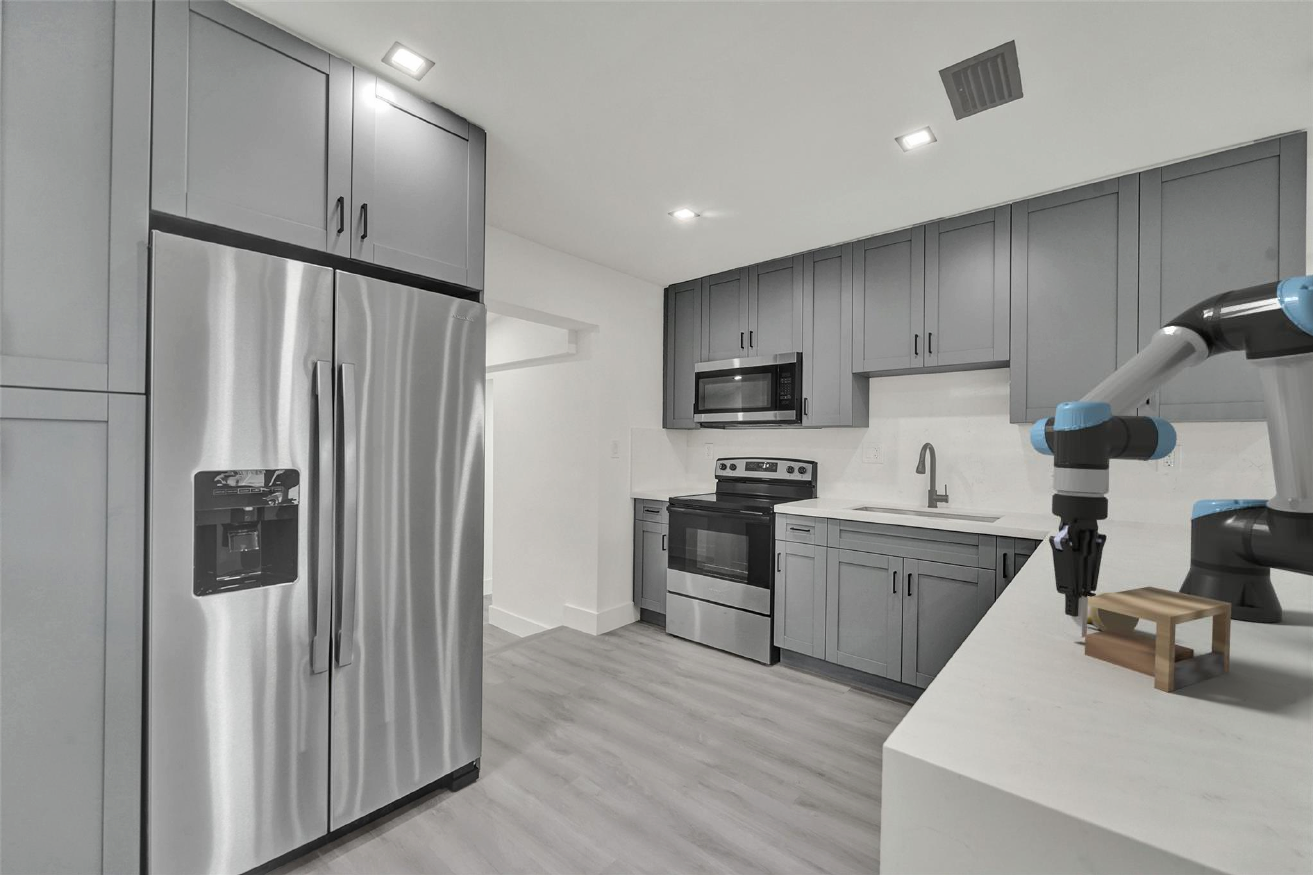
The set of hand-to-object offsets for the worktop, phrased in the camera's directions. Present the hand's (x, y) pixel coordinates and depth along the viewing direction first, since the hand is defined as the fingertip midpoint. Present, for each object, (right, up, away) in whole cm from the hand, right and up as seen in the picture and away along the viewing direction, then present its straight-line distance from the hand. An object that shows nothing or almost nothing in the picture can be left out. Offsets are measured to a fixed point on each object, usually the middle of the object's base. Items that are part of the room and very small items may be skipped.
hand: (1075, 634), depth 96 cm
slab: (+4, -2, -8) cm, 9 cm away
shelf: (+5, -2, -10) cm, 11 cm away
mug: (+11, -2, +9) cm, 14 cm away
